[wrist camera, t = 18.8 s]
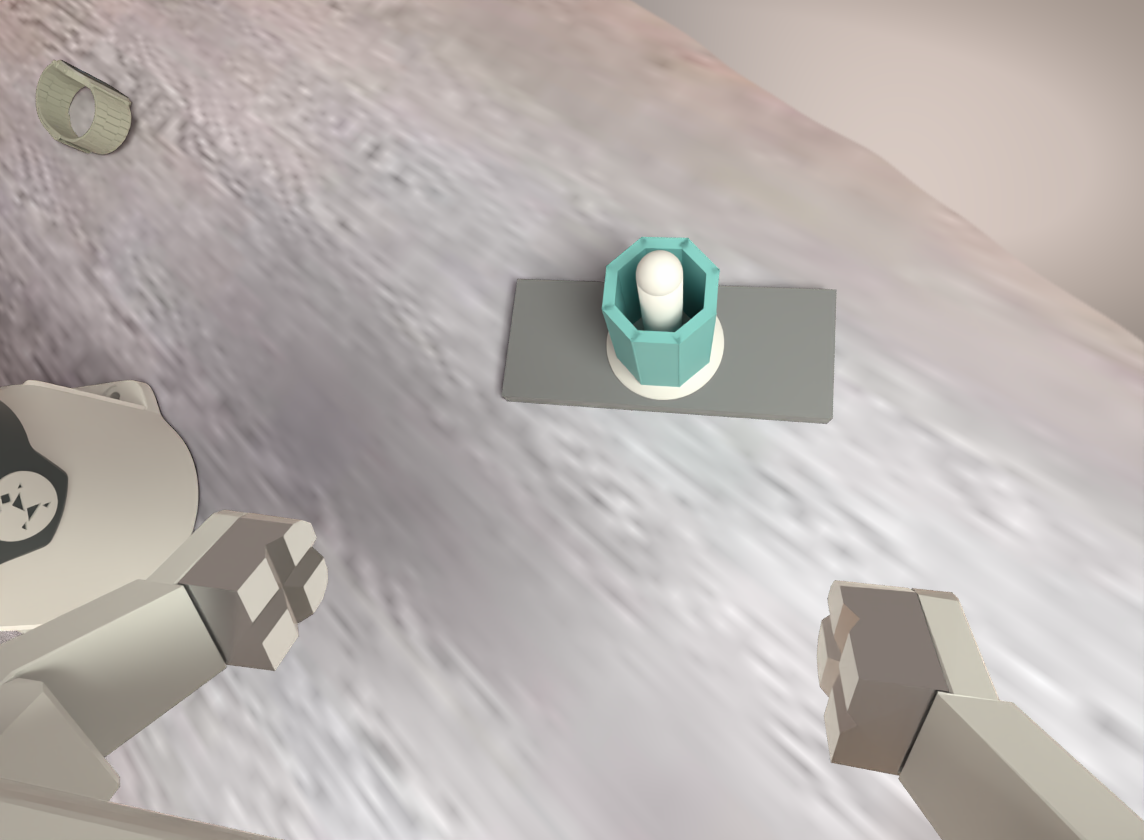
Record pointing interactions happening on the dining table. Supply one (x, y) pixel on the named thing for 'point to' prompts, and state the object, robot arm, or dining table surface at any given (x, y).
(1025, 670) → the dining table surface
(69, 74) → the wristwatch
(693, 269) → the collar
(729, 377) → the post stand
